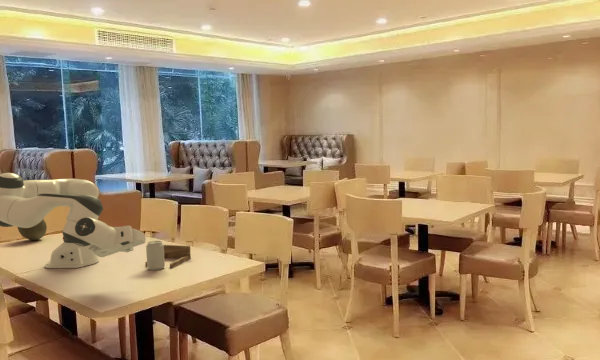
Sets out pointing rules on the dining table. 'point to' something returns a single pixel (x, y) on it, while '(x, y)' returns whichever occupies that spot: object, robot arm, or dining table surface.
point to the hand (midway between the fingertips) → (130, 249)
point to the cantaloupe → (34, 231)
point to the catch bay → (176, 254)
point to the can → (155, 255)
